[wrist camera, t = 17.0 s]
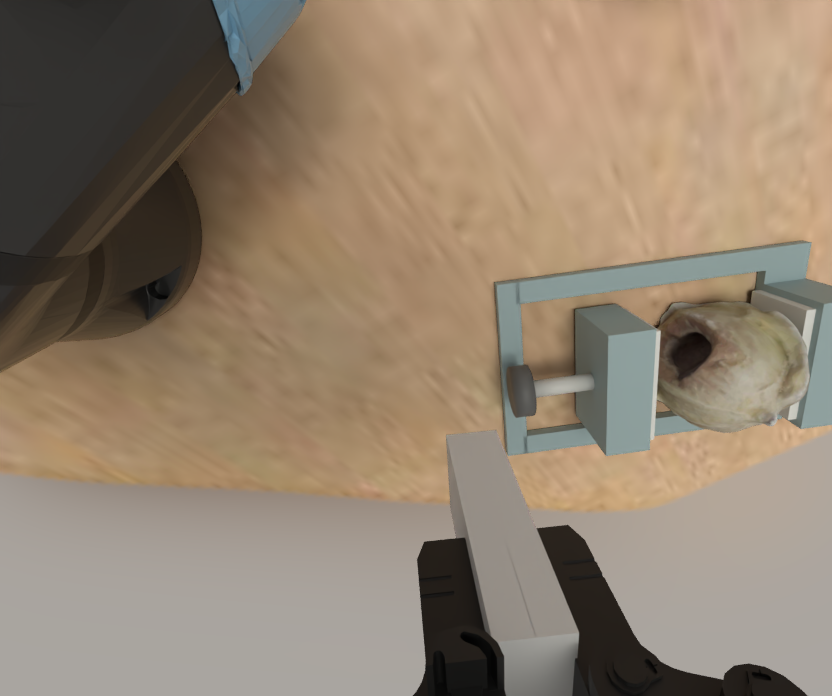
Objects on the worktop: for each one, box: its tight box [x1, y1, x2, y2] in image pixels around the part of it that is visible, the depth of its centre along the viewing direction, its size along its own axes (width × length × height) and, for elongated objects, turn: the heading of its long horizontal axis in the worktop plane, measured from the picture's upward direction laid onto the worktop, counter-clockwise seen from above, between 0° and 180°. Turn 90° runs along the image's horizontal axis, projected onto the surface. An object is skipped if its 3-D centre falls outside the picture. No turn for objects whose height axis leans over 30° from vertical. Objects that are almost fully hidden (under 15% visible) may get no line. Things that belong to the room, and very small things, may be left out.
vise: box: [494, 241, 832, 456], centre depth 35 cm, size 22×14×6 cm, turn 97°
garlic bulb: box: [657, 301, 810, 433], centre depth 33 cm, size 9×8×10 cm
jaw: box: [506, 304, 661, 456], centre depth 34 cm, size 9×9×6 cm
